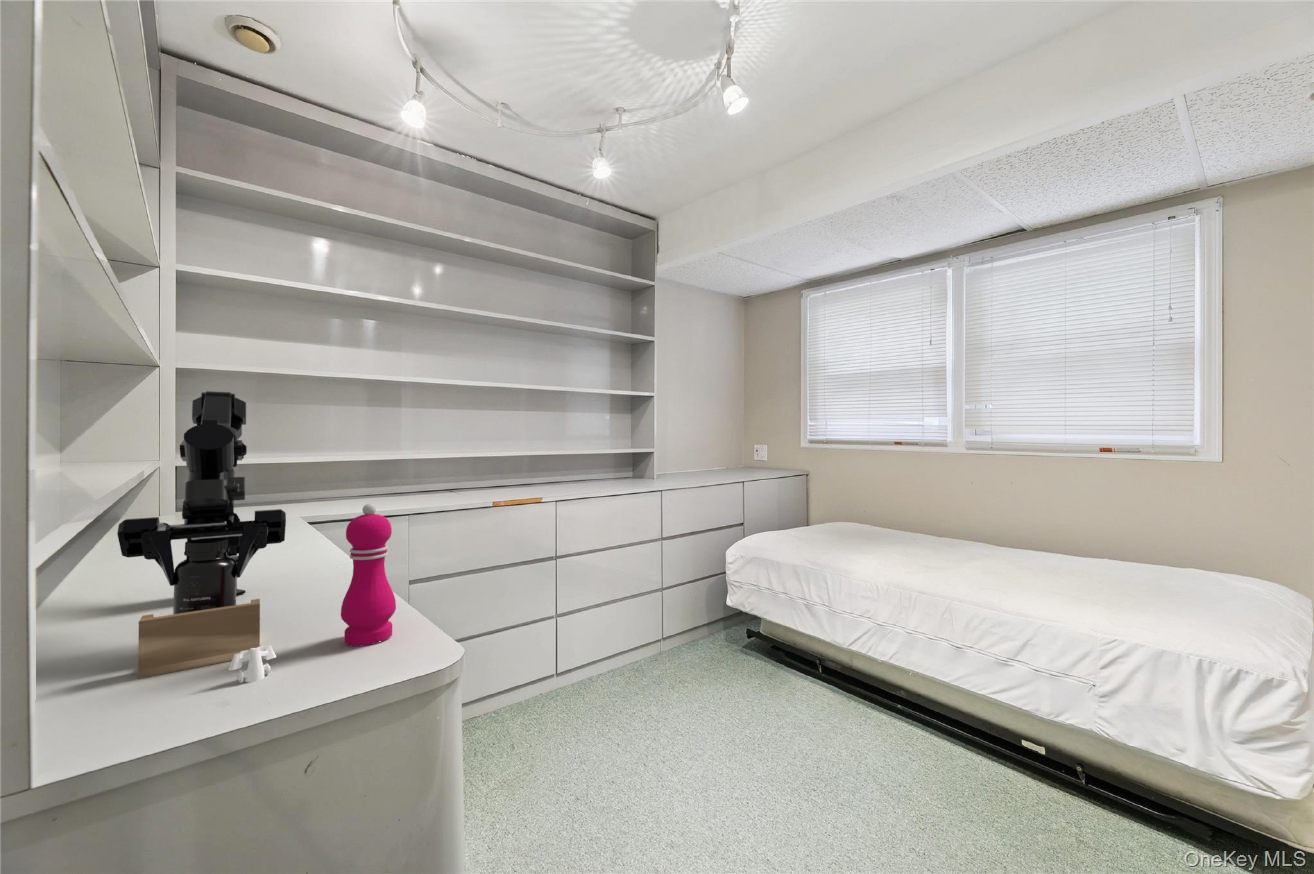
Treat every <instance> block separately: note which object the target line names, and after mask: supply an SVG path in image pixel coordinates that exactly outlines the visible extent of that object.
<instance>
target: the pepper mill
mask: <svg viewBox="0 0 1314 874" xmlns="http://www.w3.org/2000/svg"><path fill="white" fill-rule="evenodd" d="M376 511H377V507H376V506H375V504H373V503H366V504H364V506H363V507H362V513H363V514H361V515H358V516H356V517H354V518H353V519H352V520H350V522H349V523H348V524H347V526H346V528H345V539H346V541H347V542H348V543H349V544H350V546H351V547H352V548H350V550H349V552H350V555H349V558H350V559H351V560H352V564H353V565H352V566H353V569H352V578H351V581H350V584H349V586H348V588H347V591H346V593H345V596H344V598H343V600H342V604H341V606H340V607H341V608H340V618H341V620H342V621H343V623H345V624H346V625H347V627H346V628H345V629H344V631H343V632H344V636H343V637H344V641H343V642H344V643H345V644H346V645H347V646H350V645H352V646H351V647H361V646H360V645H366V646H371V645H370V644H373V643H377V642H379V641H383V640H385V641H387V640H388V639H387V638H389V637H390V636H391V637H392V636H393V623H392V621H391V620H390V619H391V618H392V616H393V615H394V614H395V612H396V610H397V609H396V608H397V603H396V602H397V601H396V597H395V594H394V591H393V590H392V589H393V588H391V585H390V583H389V581H388V579H387V575H386V568H385V559H386V557H387V556H388V554H389V552H388V548H389V546H388V545H386V543H387V541H389V539H390V538H391V536H392V531H393V528H392V524H391V522H390V520H389V519H388V518H387V517H385V516H383V515H381V514H378V513H376ZM391 637H390V638H391ZM390 638H389V639H390ZM386 639H387V640H386ZM383 642H384V641H383ZM377 644H378V643H377ZM373 645H374V644H373Z"/></svg>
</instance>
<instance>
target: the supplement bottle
mask: <svg viewBox="0 0 1314 874" xmlns="http://www.w3.org/2000/svg"><path fill="white" fill-rule="evenodd" d="M228 551H229V539H228V538H204V539H196V540H190V541H187V540H186V541H185V543H184V551H183V555H184V556H186V559H183V560H182V561H180V562H179V563H177V565H176V566H175V567H174V572H175V576H174V586H173V608H172V610H173V611H172V613H173V614H179V613H186V612H193V611H200V610H206V609H213V608H220V607H227V606H234V605H237V595H236V584H237V585H238V578H237V562H236V560H235V559H234V558H232V557H230V556H228V555H227V552H228ZM173 614H172V615H173Z"/></svg>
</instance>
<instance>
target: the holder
mask: <svg viewBox="0 0 1314 874" xmlns="http://www.w3.org/2000/svg"><path fill="white" fill-rule="evenodd" d="M260 601H261V600H260V598H254V599H250V602H248V603H242V604H236V605H234V606H227V607H220V608H213V609H206V610H200V611H193V612H186V613H179V614H167V615H166V614H165V615H161V616H160V615H159V616H154V614H153V613H151V614H144V615H141V617H140V619H139V620H138V647H137V648H138V659H137V662H138V665H137V666H138V672H137V673H138V674H137V676H138V679H144V678H149V677H154V676H159V675H163V674H169V673H175V672H180V671H183V670H185V671H186V670H190V669H195V668H200V667H205V666H210V665H211V666H212V665H215V664H221V663H225V662H230V661H231V662H232V659H233V657H234V655H235V654H238V653H240V652H241V651H246V650H250V649H251V648H257V647H260V646H261V645H260V643H261V641H260V639H261V632H260V631H261V625H260V624H261V603H260Z"/></svg>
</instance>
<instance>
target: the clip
mask: <svg viewBox="0 0 1314 874" xmlns="http://www.w3.org/2000/svg"><path fill="white" fill-rule="evenodd" d="M262 657H263V658H262ZM275 658H277V655H276V653H275V652H274V649H273V647H272V645H270V644H269V645H260V647H257V648H251V649H250V650H246V651H241V652H240V653H238V654H235V655H234V657H233V659H232V660H231V662H230V664H229V666H228V669H227V671H234V670H238V669H241V668H243V667H242V665H243V663H244V662H247V661H248V664H247V669H246V670H244V671H242V670H238V673H237V674H236V675H237V676H236V679H237V681H239V683H240V684H242V683H243V682H244V677H245V683H255V682H258V681H261V680H263V679H265V675H266V676H268V675H270V671H271V666H270V664H269V663H268V662H265V663H263V660H267V661H269V660H272V659H275ZM262 659H263V660H262Z"/></svg>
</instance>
